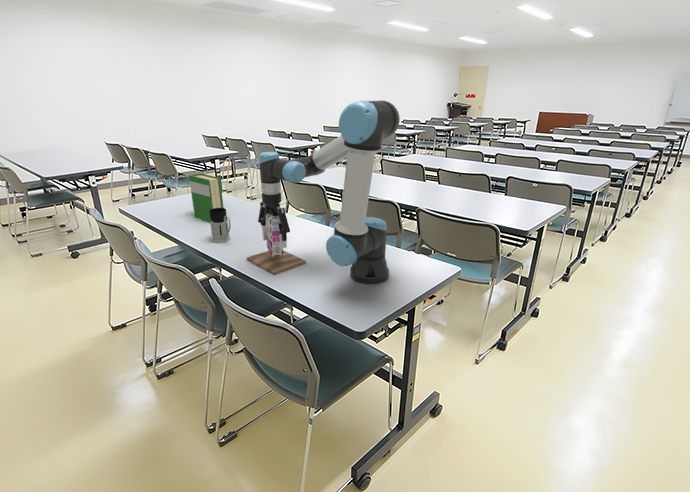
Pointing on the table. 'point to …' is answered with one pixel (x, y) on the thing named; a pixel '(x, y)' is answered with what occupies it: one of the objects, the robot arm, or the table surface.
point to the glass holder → (219, 225)
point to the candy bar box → (273, 235)
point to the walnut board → (276, 262)
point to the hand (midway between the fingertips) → (274, 243)
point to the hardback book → (205, 195)
